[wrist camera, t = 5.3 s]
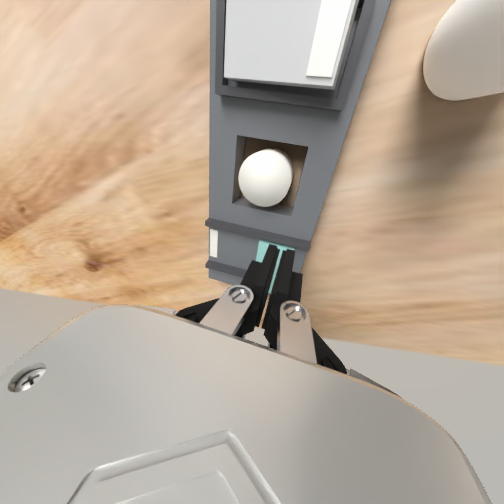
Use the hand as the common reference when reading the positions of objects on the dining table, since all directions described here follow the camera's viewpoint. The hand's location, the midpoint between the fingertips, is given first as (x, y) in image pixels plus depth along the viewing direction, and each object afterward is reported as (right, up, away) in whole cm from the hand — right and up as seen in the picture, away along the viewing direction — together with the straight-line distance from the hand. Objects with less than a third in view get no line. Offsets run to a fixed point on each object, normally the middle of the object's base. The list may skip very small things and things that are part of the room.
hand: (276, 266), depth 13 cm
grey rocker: (0, +15, 0) cm, 15 cm away
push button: (+1, +10, +9) cm, 13 cm away
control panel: (+1, +10, +9) cm, 13 cm away
